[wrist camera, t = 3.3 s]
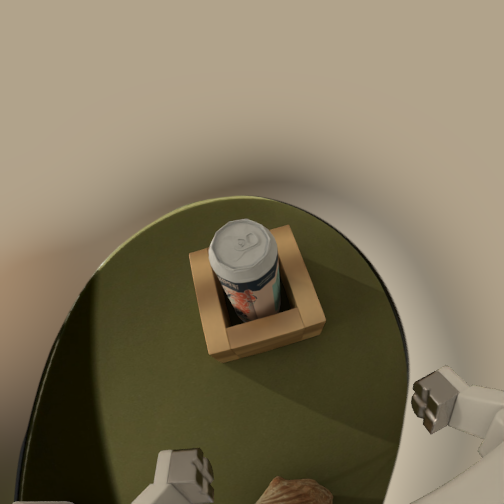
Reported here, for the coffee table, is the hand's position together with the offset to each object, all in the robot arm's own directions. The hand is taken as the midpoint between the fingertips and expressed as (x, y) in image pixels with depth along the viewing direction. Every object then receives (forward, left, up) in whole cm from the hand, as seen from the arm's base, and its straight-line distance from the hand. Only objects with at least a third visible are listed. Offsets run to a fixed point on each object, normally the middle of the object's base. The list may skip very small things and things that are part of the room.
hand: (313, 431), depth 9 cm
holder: (+11, -3, -17) cm, 21 cm away
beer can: (+11, -3, -18) cm, 21 cm away
